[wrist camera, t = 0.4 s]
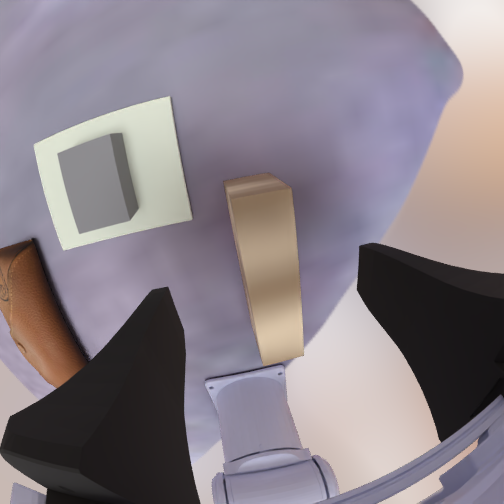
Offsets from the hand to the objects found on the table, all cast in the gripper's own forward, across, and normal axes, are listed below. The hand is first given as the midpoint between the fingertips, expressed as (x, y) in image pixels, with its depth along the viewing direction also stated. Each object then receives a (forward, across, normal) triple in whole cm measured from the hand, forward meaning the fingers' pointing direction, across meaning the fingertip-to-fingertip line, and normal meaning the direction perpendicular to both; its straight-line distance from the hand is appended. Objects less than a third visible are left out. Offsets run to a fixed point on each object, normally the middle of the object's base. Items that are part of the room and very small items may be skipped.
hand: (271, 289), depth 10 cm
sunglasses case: (+10, +20, +7) cm, 24 cm away
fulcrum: (+9, +8, -4) cm, 13 cm away
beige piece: (+10, -1, +4) cm, 10 cm away
